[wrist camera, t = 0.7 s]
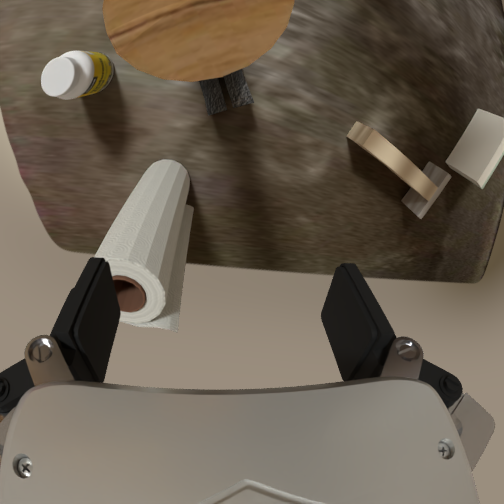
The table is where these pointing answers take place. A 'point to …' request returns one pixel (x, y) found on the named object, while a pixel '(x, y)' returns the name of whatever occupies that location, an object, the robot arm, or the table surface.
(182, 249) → the paper towel roll
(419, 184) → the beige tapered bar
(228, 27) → the hammer
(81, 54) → the supplement bottle
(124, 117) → the table surface
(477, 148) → the tile
